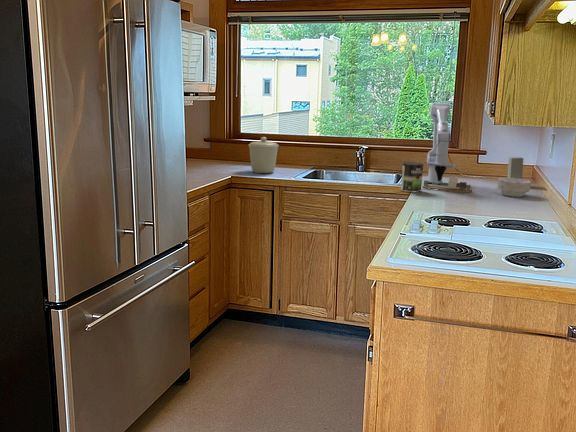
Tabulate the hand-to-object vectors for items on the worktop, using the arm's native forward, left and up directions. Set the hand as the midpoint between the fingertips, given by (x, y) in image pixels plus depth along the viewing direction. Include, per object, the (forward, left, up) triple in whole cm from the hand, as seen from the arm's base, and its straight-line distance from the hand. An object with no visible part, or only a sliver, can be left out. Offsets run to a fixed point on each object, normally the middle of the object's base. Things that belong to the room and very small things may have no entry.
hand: (439, 180), depth 288 cm
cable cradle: (0, +4, -4) cm, 6 cm away
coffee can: (+14, -11, -4) cm, 18 cm away
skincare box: (-36, +33, -4) cm, 49 cm away
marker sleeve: (0, +7, -3) cm, 8 cm away
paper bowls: (-4, +36, -5) cm, 36 cm away
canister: (+8, -102, -4) cm, 102 cm away
